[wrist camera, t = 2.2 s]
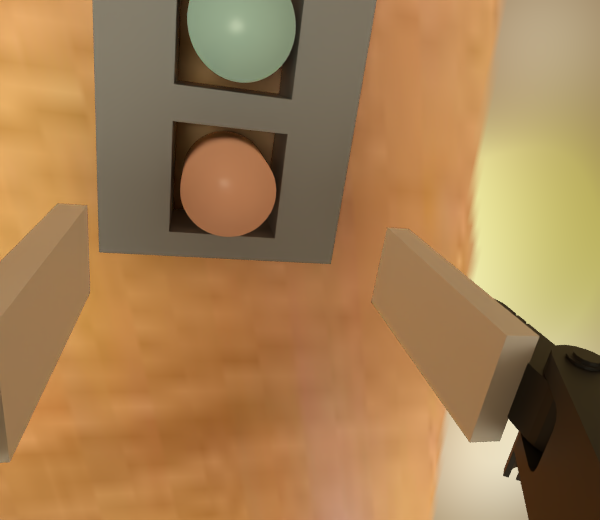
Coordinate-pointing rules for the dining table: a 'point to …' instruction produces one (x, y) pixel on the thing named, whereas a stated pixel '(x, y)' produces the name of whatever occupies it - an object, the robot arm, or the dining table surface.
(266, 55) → the button teal
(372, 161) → the dining table surface
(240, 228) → the button terracotta
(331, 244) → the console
